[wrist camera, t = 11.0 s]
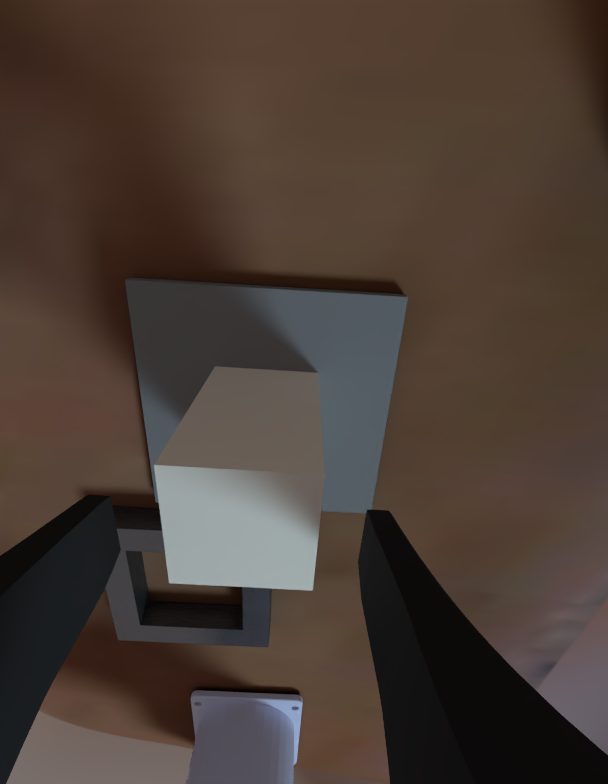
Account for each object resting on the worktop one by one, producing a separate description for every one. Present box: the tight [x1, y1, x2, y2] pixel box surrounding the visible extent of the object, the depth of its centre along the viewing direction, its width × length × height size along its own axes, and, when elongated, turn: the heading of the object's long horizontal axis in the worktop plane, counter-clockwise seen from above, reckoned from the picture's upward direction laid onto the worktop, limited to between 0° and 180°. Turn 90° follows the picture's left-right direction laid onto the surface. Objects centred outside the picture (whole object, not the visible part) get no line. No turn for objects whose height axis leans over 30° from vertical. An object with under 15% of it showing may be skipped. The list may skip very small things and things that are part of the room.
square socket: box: [105, 507, 272, 647], centre depth 21 cm, size 9×9×2 cm
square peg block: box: [154, 366, 325, 591], centre depth 14 cm, size 4×4×7 cm
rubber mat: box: [125, 278, 408, 513], centre depth 17 cm, size 11×11×1 cm
